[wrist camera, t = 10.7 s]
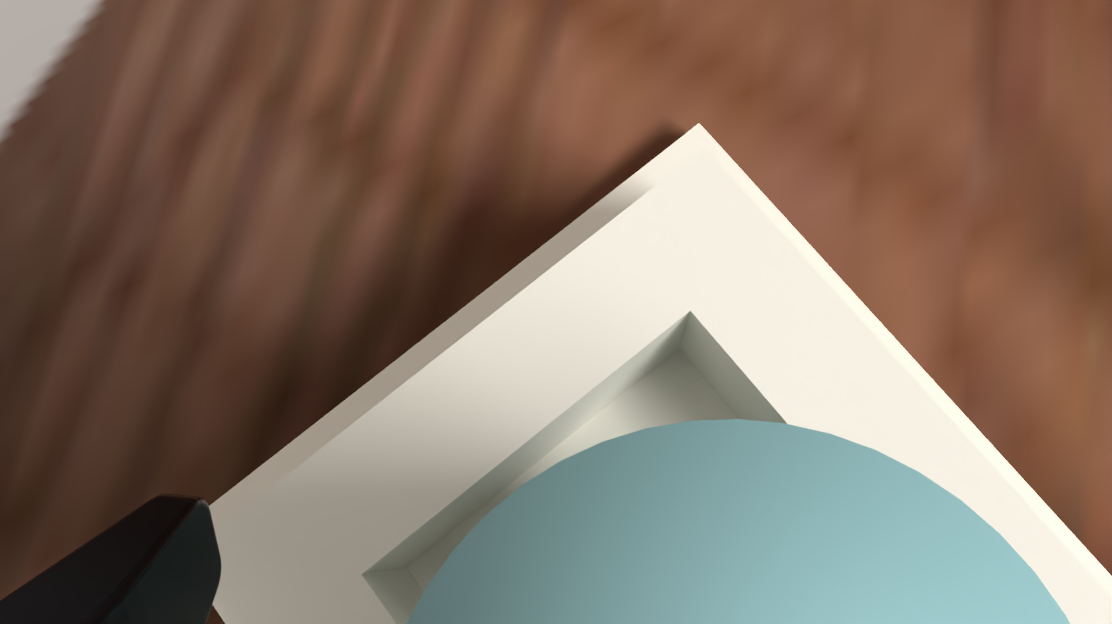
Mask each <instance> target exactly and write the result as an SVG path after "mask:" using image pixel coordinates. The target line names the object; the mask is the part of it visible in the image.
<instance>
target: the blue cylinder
mask: <svg viewBox="0 0 1112 624" xmlns="http://www.w3.org/2000/svg"><path fill="white" fill-rule="evenodd" d="M407 624H1070V623H1069V621H1068V619H1067V617H1066V615H1065V614H1064V612H1063V611H1062V610H1061V608H1060V607H1059V605H1058V604H1057V603H1056V601H1055V600H1054V598H1053V597H1052V596H1051V594H1050V593H1049V591H1048V590H1047V589H1046V587H1045V586H1044V584H1043V583H1042V582H1041V580H1040V579H1039V577H1038V576H1037V575H1036V573H1035V572H1034V571H1033V570H1032V569H1031V567H1030V566H1029V565H1028V564H1027V563H1026V562H1025V561H1024V560H1023V559H1022V558H1021V556H1020V555H1019V554H1018V553H1017V552H1016V551H1015V550H1014V549H1013V548H1012V547H1011V545H1010V544H1009V543H1008V542H1007V541H1006V540H1005V539H1004V538H1003V537H1002V536H1001V534H1000V533H998V532H997V531H996V530H995V529H994V528H993V527H992V526H990V525H989V524H988V523H987V522H986V521H985V520H983V519H982V518H981V517H980V516H979V515H978V514H976V513H975V512H974V511H973V510H972V509H971V508H970V507H968V506H967V505H966V504H965V503H964V502H963V501H961V500H960V499H959V498H957V497H956V496H954V495H953V494H951V493H950V492H948V491H947V490H945V489H944V488H942V487H941V486H939V485H938V484H936V483H935V482H933V481H932V480H930V479H929V478H927V477H926V476H924V475H923V474H921V473H920V472H918V471H916V470H914V469H912V468H910V467H908V466H906V465H904V464H902V463H900V462H898V461H896V460H894V459H893V458H891V457H889V456H887V455H885V454H883V453H881V452H879V451H877V450H874V449H872V448H869V447H866V446H863V445H860V444H858V443H855V442H852V441H849V440H847V439H844V438H841V437H838V436H836V435H833V434H830V433H825V432H821V431H816V430H812V429H807V428H803V427H798V426H794V425H790V424H785V423H776V422H765V421H754V420H743V419H723V420H696V421H686V422H680V423H674V424H669V425H663V426H657V427H651V428H645V429H642V430H639V431H636V432H632V433H629V434H626V435H623V436H619V437H616V438H613V439H610V440H606V441H603V442H601V443H598V444H596V445H594V446H592V447H590V448H588V449H585V450H583V451H581V452H579V453H577V454H574V455H572V456H570V457H568V458H566V459H564V460H561V461H560V462H558V463H556V464H555V465H553V466H552V467H550V468H548V469H547V470H545V471H544V472H542V473H540V474H539V475H537V476H536V477H534V478H533V479H531V480H529V481H528V482H526V483H525V484H523V485H521V486H520V487H519V488H518V489H517V490H515V491H514V492H513V493H512V494H511V495H509V496H508V497H507V498H506V499H505V500H503V501H502V502H501V503H500V504H498V505H497V506H496V507H495V508H494V509H492V510H491V511H490V512H489V513H488V514H486V515H485V516H484V517H483V518H482V520H481V521H480V522H479V523H478V524H477V525H476V526H475V527H474V528H473V529H472V530H471V531H470V532H469V534H468V535H467V536H466V537H465V538H464V539H463V540H462V541H461V542H460V543H459V544H458V545H457V546H456V548H455V549H454V550H453V551H452V552H451V554H450V555H449V557H448V558H447V559H446V561H445V562H444V564H443V565H442V566H441V568H440V569H439V571H438V572H437V573H436V575H435V576H434V578H433V579H432V580H431V582H430V583H429V585H428V586H427V587H426V589H425V591H424V592H423V594H422V596H421V598H420V600H419V602H418V604H417V605H416V607H415V609H414V611H413V613H412V615H411V616H410V618H409V620H408V622H407Z"/></svg>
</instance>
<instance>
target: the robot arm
mask: <svg viewBox="0 0 1112 624" xmlns="http://www.w3.org/2000/svg"><path fill="white" fill-rule="evenodd" d="M220 577H221V556H220V552H219V547H218V543H217V538H216V534H215V530H214V525H213V521H212V516H211V512H210V509H209V506H208V504H207V502H206V501H205V500H204V499H202V498H200V497H196V496H185V495H175V494H161V495H159V496H156V497H154V498H153V499H151V500H149V501H148V502H146V503H145V504H143V505H142V506H140V507H139V508H137V509H136V510H134V511H133V512H132V513H130V514H129V515H127V516H126V517H124V518H123V519H121V520H120V521H118V522H117V523H115V524H114V525H112V526H111V527H109V528H108V529H106V530H105V531H103V532H102V533H100V534H99V535H97V536H96V537H94V538H93V539H91V540H90V541H88V542H87V543H85V544H84V545H82V546H81V547H79V548H78V549H76V550H75V551H73V552H72V553H70V554H69V555H67V556H66V557H65V558H63V559H62V560H60V561H59V562H57V563H56V564H54V565H53V566H51V567H50V568H48V569H47V570H45V571H44V572H42V573H41V574H39V575H38V576H36V577H35V578H33V579H32V580H30V581H29V582H27V583H26V584H24V585H23V586H21V587H20V588H18V589H17V590H15V591H14V592H12V593H11V594H9V595H8V596H6V597H5V598H3V599H2V600H0V624H206V622H207V619H208V616H209V613H210V610H211V607H212V604H213V601H214V598H215V595H216V592H217V589H218V586H219V582H220Z"/></svg>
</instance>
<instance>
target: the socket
mask: <svg viewBox="0 0 1112 624" xmlns="http://www.w3.org/2000/svg"><path fill="white" fill-rule="evenodd" d="M723 419H743V420H754V421H765V422H776V423H785V424H790V425H794V426H798V427H803V428H807V429H812V430H816V431H821V432H825V433H830V434H833V435H836V436H838V437H841V438H844V439H847V440H849V441H852V442H855V443H858V444H860V445H863V446H866V447H869V448H872V449H874V450H877V451H879V452H881V453H883V454H885V455H887V456H889V457H891V458H893V459H894V460H896V461H898V462H900V463H902V464H904V465H906V466H908V467H910V468H912V469H914V470H916V471H918V472H920V473H921V474H923V475H924V476H926V477H927V478H929V479H930V480H932V481H933V482H935V483H936V484H938V485H939V486H941V487H942V488H944V489H945V490H947V491H948V492H950V493H951V494H953V495H954V496H956V497H957V498H959V499H960V500H961V501H963V502H964V503H965V504H966V505H967V506H968V507H970V508H971V509H972V510H973V511H974V512H975V513H976V514H978V515H979V516H980V517H981V518H982V519H983V520H985V521H986V522H987V523H988V524H989V525H990V526H992V527H993V528H994V529H995V530H996V531H997V532H998V533H1000V534H1001V536H1002V537H1003V538H1004V539H1005V540H1006V541H1007V542H1008V543H1009V544H1010V545H1011V547H1012V548H1013V549H1014V550H1015V551H1016V552H1017V553H1018V554H1019V555H1020V556H1021V558H1022V559H1023V560H1024V561H1025V562H1026V563H1027V564H1028V565H1029V566H1030V567H1031V569H1032V570H1033V571H1034V572H1035V573H1036V575H1037V576H1038V577H1039V579H1040V580H1041V582H1042V583H1043V584H1044V586H1045V587H1046V589H1047V590H1048V591H1049V593H1050V594H1051V596H1052V597H1053V598H1054V600H1055V601H1056V603H1057V604H1058V605H1059V607H1060V608H1061V610H1062V611H1063V612H1064V614H1065V615H1066V617H1067V619H1068V621H1069V623H1070V624H1112V576H1111V575H1110V574H1109V573H1108V572H1107V570H1106V569H1105V568H1104V567H1103V566H1102V565H1101V564H1100V563H1099V562H1098V561H1097V559H1096V558H1095V557H1094V556H1093V555H1092V554H1091V553H1090V552H1089V551H1088V550H1087V548H1086V547H1085V546H1084V545H1083V544H1082V543H1081V542H1080V541H1079V540H1078V539H1077V537H1076V536H1075V535H1074V534H1073V533H1072V532H1071V531H1070V530H1069V529H1068V528H1067V526H1066V525H1065V524H1064V523H1063V522H1062V521H1061V520H1060V519H1059V518H1058V517H1057V515H1056V514H1055V513H1054V512H1053V511H1052V510H1051V509H1050V508H1049V507H1048V506H1047V505H1046V503H1045V502H1044V501H1043V500H1042V499H1041V498H1040V497H1039V496H1038V495H1037V494H1036V492H1035V491H1034V490H1033V489H1032V488H1031V487H1030V486H1029V485H1028V484H1027V483H1026V481H1025V480H1024V479H1023V478H1022V477H1021V476H1020V475H1019V474H1018V473H1017V472H1016V470H1015V469H1014V468H1013V467H1012V466H1011V465H1010V464H1009V463H1008V462H1007V461H1006V459H1005V458H1004V457H1003V456H1002V455H1001V454H1000V453H999V452H998V451H997V450H996V448H995V447H994V446H993V445H992V444H991V443H990V442H989V441H988V440H987V439H986V437H985V436H984V435H983V434H982V433H981V432H980V431H979V430H978V429H977V428H976V427H975V425H974V424H973V423H972V422H971V421H970V420H969V419H968V418H967V417H966V416H965V414H964V413H963V412H962V411H961V410H960V409H959V408H958V407H957V406H956V405H955V403H954V402H953V401H952V400H951V399H950V398H949V397H948V396H947V395H946V394H945V392H944V391H943V390H942V389H941V388H940V387H939V386H938V385H937V384H936V383H935V381H934V380H933V379H932V378H931V377H930V376H929V375H928V374H927V373H926V372H925V370H924V369H923V368H922V367H921V366H920V365H919V364H918V363H917V362H916V361H915V360H914V358H913V357H912V356H911V355H910V354H909V353H908V352H907V351H906V350H905V349H904V347H903V346H902V345H901V344H900V343H899V342H898V341H897V340H896V339H895V338H894V336H893V335H892V334H891V333H890V332H889V331H888V330H887V329H886V328H885V327H884V325H883V324H882V323H881V322H880V321H879V320H878V319H877V318H876V317H875V316H874V314H873V313H872V312H871V311H870V310H869V309H868V308H867V307H866V306H865V305H864V303H863V302H862V301H861V300H860V299H859V298H858V297H857V296H856V295H855V294H854V293H853V291H852V290H851V289H850V288H849V287H848V286H847V285H846V284H845V283H844V282H843V280H842V279H841V278H840V277H839V276H838V275H837V274H836V273H835V272H834V271H833V269H832V268H831V267H830V266H829V265H828V264H827V263H826V262H825V261H824V260H823V258H822V257H821V256H820V255H819V254H818V253H817V252H816V251H815V250H814V249H813V247H812V246H811V245H810V244H809V243H808V242H807V241H806V240H805V239H804V238H803V236H802V235H801V234H800V233H799V232H798V231H797V230H796V229H795V228H794V227H793V225H792V224H791V223H790V222H789V221H788V220H787V219H786V218H785V217H784V216H783V215H782V213H781V212H780V211H779V210H778V209H777V208H776V207H775V206H774V205H773V204H772V202H771V201H770V200H769V199H768V198H767V197H766V196H765V195H764V194H763V193H762V191H761V190H760V189H759V188H758V187H757V186H756V185H755V184H754V183H753V182H752V180H751V179H750V178H749V177H748V176H747V175H746V174H745V173H744V172H743V171H742V169H741V168H740V167H739V166H738V165H737V164H736V163H735V162H734V161H733V160H732V158H731V157H730V156H729V155H728V154H727V153H726V152H725V151H724V150H723V149H722V148H721V146H720V145H719V144H718V143H717V142H716V141H715V140H714V139H713V138H712V137H711V135H710V134H709V133H708V132H707V131H706V130H705V129H704V128H703V127H702V126H701V124H700V123H698V124H697V125H696V126H695V127H693V128H692V129H691V130H689V131H688V132H687V133H686V134H684V135H683V136H682V137H681V138H679V139H678V140H677V141H675V142H674V143H673V144H672V145H670V146H669V147H668V148H666V149H665V150H664V151H663V152H661V153H660V154H659V155H658V156H656V157H655V158H654V159H652V160H651V161H650V162H649V163H647V164H646V165H645V166H643V167H642V168H641V169H640V170H638V171H637V172H636V173H634V174H633V175H632V176H631V177H629V178H628V179H627V180H626V181H624V182H623V183H622V184H620V185H619V186H618V187H617V188H615V189H614V190H613V191H611V192H610V193H609V194H608V195H606V196H605V197H604V198H602V199H601V200H600V201H599V202H597V203H596V204H595V205H594V206H592V207H591V208H590V209H588V210H587V211H586V212H585V213H583V214H582V215H581V216H579V217H578V218H577V219H576V220H574V221H573V222H572V223H571V224H569V225H568V226H567V227H565V228H564V229H563V230H562V231H560V232H559V233H558V234H556V235H555V236H554V237H553V238H551V239H550V240H549V241H547V242H546V243H545V244H544V245H542V246H541V247H540V248H539V249H537V250H536V251H535V252H533V253H532V254H531V255H530V256H528V257H527V258H526V259H524V260H523V261H522V262H521V263H519V264H518V265H517V266H515V267H514V268H513V269H512V270H510V271H509V272H508V273H507V274H505V275H504V276H503V277H501V278H500V279H499V280H498V281H496V282H495V283H494V284H492V285H491V286H490V287H489V288H487V289H486V290H485V291H484V292H482V293H481V294H480V295H478V296H477V297H476V298H475V299H473V300H472V301H471V302H469V303H468V304H467V305H466V306H464V307H463V308H462V309H460V310H459V311H458V312H457V313H455V314H454V315H453V316H452V317H450V318H449V319H448V320H446V321H445V322H444V323H443V324H441V325H440V326H439V327H437V328H436V329H435V330H434V331H432V332H431V333H430V334H428V335H427V336H426V337H425V338H423V339H422V340H421V341H420V342H418V343H417V344H416V345H414V346H413V347H412V348H411V349H409V350H408V351H407V352H405V353H404V354H403V355H402V356H400V357H399V358H398V359H397V360H395V361H394V362H393V363H391V364H390V365H389V366H388V367H386V368H385V369H384V370H382V371H381V372H380V373H379V374H377V375H376V376H375V377H373V378H372V379H371V380H370V381H368V382H367V383H366V384H365V385H363V386H362V387H361V388H359V389H358V390H357V391H356V392H354V393H353V394H352V395H350V396H349V397H348V398H347V399H345V400H344V401H343V402H342V403H340V404H339V405H338V406H336V407H335V408H334V409H333V410H331V411H330V412H329V413H327V414H326V415H325V416H324V417H322V418H321V419H320V420H318V421H317V422H316V423H315V424H313V425H312V426H311V427H310V428H308V429H307V430H306V431H304V432H303V433H302V434H301V435H299V436H298V437H297V438H295V439H294V440H293V441H292V442H290V443H289V444H288V445H286V446H285V447H284V448H283V449H281V450H280V451H279V452H278V453H276V454H275V455H274V456H272V457H271V458H270V459H269V460H267V461H266V462H265V463H263V464H262V465H261V466H260V467H258V468H257V469H256V470H255V471H253V472H252V473H251V474H249V475H248V476H247V477H246V478H244V479H243V480H242V481H240V482H239V483H238V484H237V485H235V486H234V487H233V488H231V489H230V490H229V491H228V492H226V493H225V494H224V495H223V496H221V497H220V498H219V499H217V500H216V501H215V502H214V503H212V504H211V505H210V506H209V509H210V512H211V516H212V521H213V525H214V530H215V534H216V538H217V543H218V547H219V552H220V556H221V577H220V582H219V586H218V589H217V592H216V595H215V598H214V601H213V604H212V605H213V606H214V608H215V609H216V611H217V612H218V614H219V615H220V617H221V618H222V620H223V621H224V622H225V624H407V622H408V620H409V618H410V616H411V615H412V613H413V611H414V609H415V607H416V605H417V604H418V602H419V600H420V598H421V596H422V594H423V592H424V591H425V589H426V587H427V586H428V585H429V583H430V582H431V580H432V579H433V578H434V576H435V575H436V573H437V572H438V571H439V569H440V568H441V566H442V565H443V564H444V562H445V561H446V559H447V558H448V557H449V555H450V554H451V552H452V551H453V550H454V549H455V548H456V546H457V545H458V544H459V543H460V542H461V541H462V540H463V539H464V538H465V537H466V536H467V535H468V534H469V532H470V531H471V530H472V529H473V528H474V527H475V526H476V525H477V524H478V523H479V522H480V521H481V520H482V518H483V517H484V516H485V515H486V514H488V513H489V512H490V511H491V510H492V509H494V508H495V507H496V506H497V505H498V504H500V503H501V502H502V501H503V500H505V499H506V498H507V497H508V496H509V495H511V494H512V493H513V492H514V491H515V490H517V489H518V488H519V487H520V486H521V485H523V484H525V483H526V482H528V481H529V480H531V479H533V478H534V477H536V476H537V475H539V474H540V473H542V472H544V471H545V470H547V469H548V468H550V467H552V466H553V465H555V464H556V463H558V462H560V461H561V460H564V459H566V458H568V457H570V456H572V455H574V454H577V453H579V452H581V451H583V450H585V449H588V448H590V447H592V446H594V445H596V444H598V443H601V442H603V441H606V440H610V439H613V438H616V437H619V436H623V435H626V434H629V433H632V432H636V431H639V430H642V429H645V428H651V427H657V426H663V425H669V424H674V423H680V422H686V421H696V420H723Z"/></svg>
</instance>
